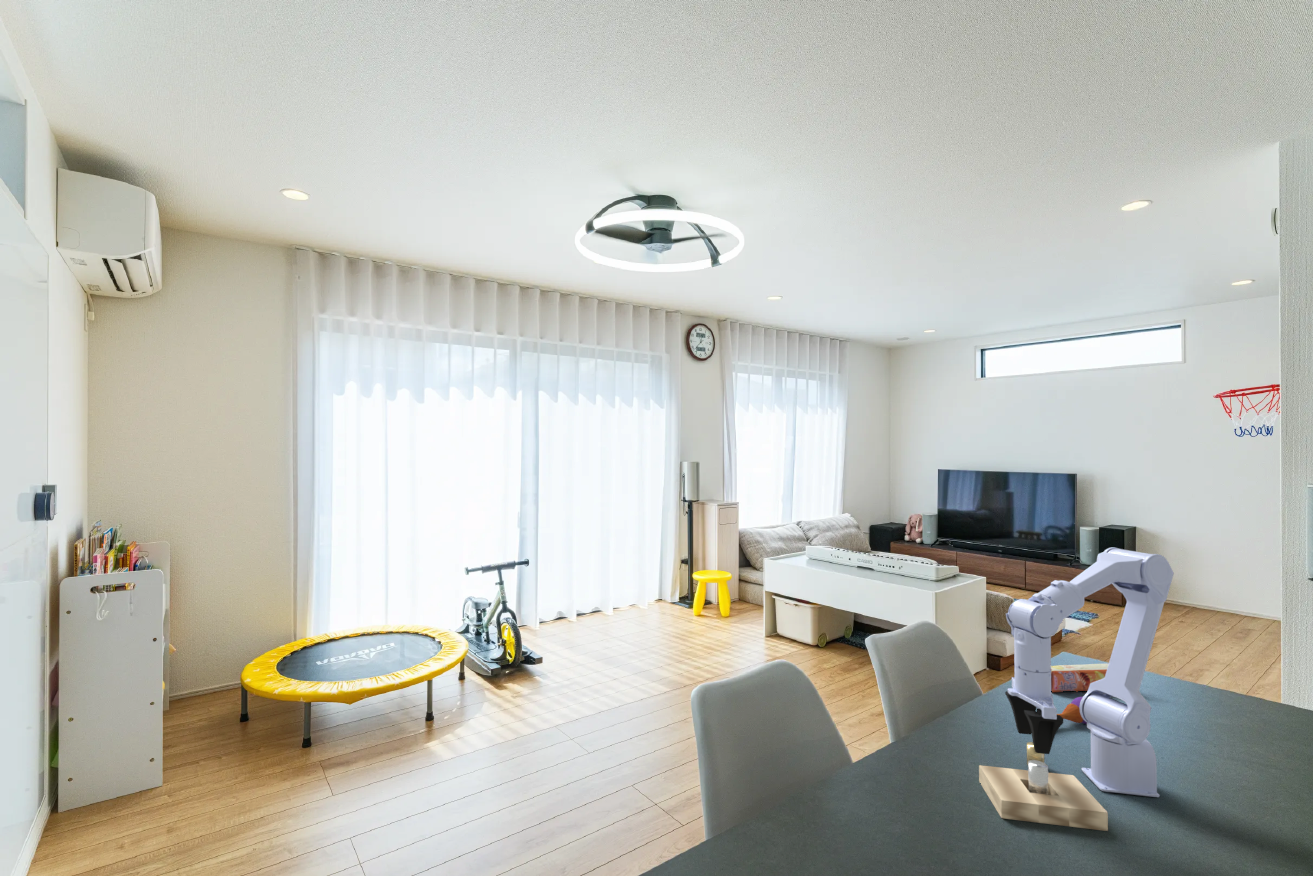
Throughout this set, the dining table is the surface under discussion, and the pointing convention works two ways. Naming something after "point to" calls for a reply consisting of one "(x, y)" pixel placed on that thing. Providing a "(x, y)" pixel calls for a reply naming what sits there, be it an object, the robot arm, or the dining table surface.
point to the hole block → (1042, 799)
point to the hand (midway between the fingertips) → (1033, 742)
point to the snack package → (1076, 676)
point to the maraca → (1073, 711)
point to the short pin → (1033, 753)
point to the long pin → (1037, 777)
